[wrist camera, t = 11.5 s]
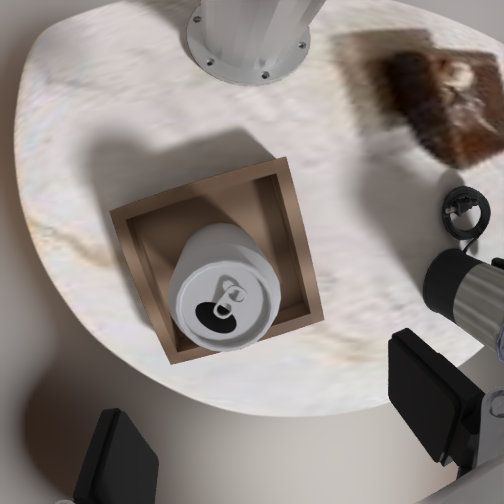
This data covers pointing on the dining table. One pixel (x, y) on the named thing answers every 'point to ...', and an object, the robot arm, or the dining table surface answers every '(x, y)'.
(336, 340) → the dining table surface
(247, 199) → the tray
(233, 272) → the can
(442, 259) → the milk frother
